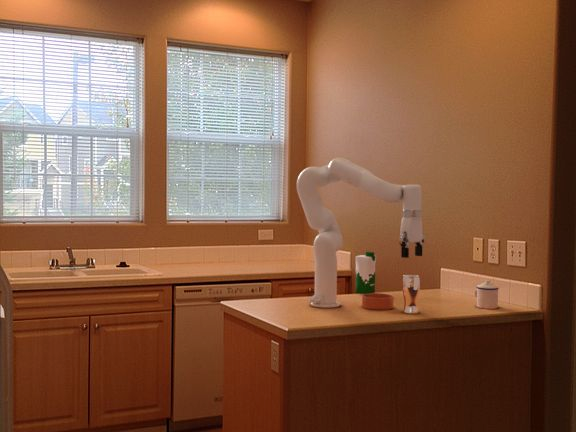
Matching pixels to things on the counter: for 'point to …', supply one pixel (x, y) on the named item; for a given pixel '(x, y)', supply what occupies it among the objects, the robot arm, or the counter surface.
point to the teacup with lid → (487, 295)
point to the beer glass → (411, 293)
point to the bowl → (377, 301)
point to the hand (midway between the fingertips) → (411, 256)
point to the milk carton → (365, 273)
